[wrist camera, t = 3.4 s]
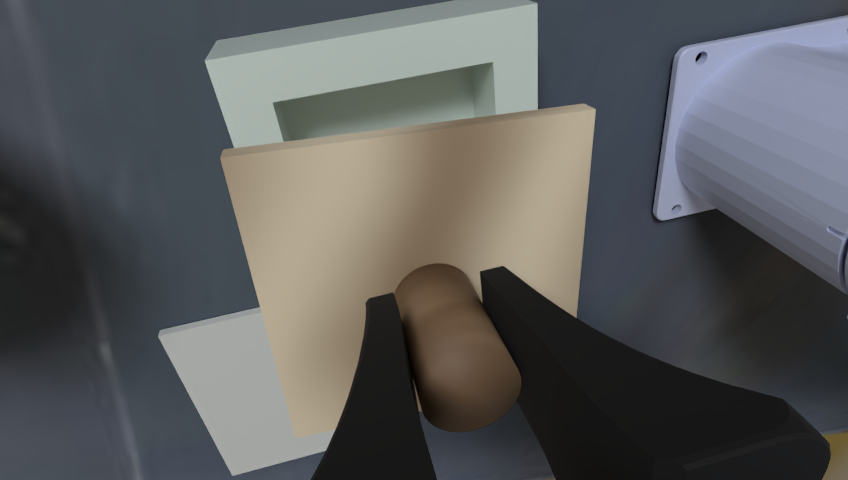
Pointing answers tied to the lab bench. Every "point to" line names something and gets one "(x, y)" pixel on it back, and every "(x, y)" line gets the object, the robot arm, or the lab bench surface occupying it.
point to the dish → (378, 71)
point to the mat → (238, 390)
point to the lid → (411, 250)
